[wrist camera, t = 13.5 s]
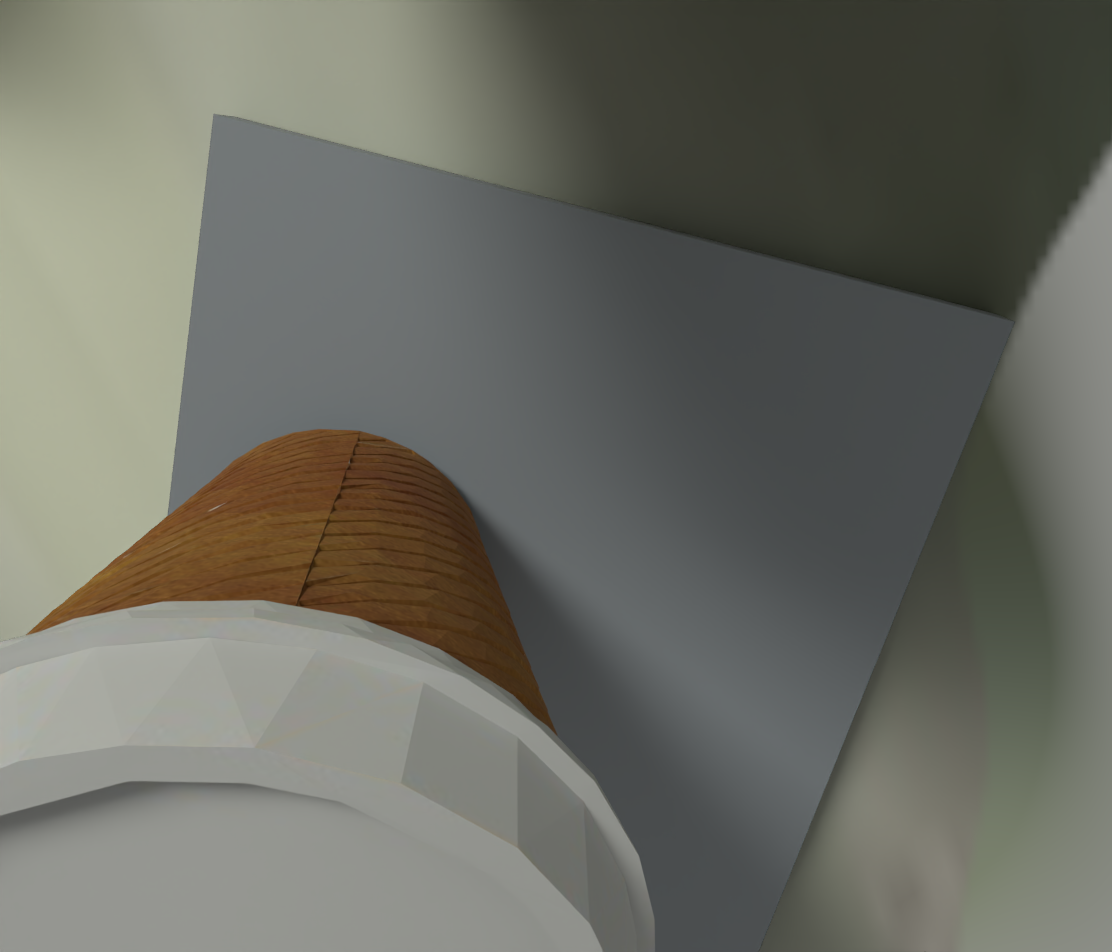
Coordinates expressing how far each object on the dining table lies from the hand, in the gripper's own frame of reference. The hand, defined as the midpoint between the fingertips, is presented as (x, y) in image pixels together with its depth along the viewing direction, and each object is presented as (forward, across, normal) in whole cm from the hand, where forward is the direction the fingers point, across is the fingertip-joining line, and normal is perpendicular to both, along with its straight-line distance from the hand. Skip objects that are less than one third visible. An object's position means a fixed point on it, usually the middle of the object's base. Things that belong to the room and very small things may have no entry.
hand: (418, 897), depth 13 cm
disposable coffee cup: (+8, -4, 0) cm, 9 cm away
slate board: (+10, 0, -1) cm, 10 cm away
